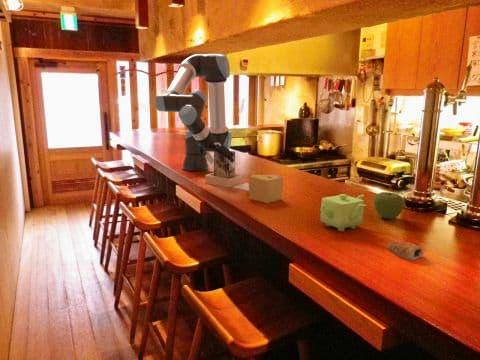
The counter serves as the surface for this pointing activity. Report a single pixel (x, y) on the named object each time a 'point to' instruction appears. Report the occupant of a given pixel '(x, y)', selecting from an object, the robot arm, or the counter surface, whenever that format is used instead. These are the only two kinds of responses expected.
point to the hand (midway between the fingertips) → (223, 163)
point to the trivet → (243, 187)
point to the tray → (224, 180)
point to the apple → (388, 204)
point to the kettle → (342, 211)
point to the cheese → (265, 188)
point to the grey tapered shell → (406, 250)
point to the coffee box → (223, 166)
